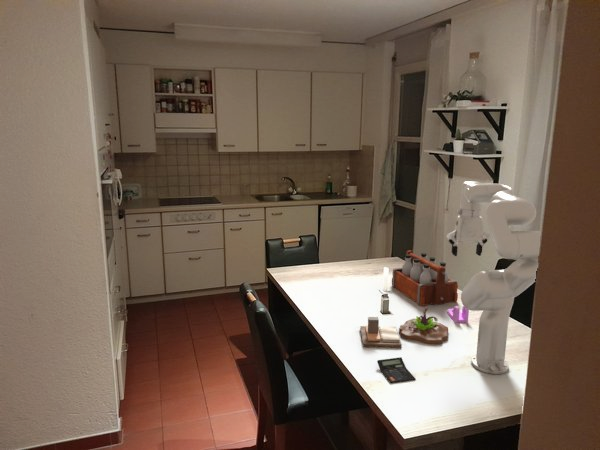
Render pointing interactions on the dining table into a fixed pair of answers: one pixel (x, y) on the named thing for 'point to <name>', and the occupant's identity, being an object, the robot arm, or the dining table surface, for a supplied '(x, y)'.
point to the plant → (424, 330)
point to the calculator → (395, 370)
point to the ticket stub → (373, 329)
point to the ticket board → (382, 338)
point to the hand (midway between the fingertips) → (466, 255)
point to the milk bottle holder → (424, 280)
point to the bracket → (458, 314)
